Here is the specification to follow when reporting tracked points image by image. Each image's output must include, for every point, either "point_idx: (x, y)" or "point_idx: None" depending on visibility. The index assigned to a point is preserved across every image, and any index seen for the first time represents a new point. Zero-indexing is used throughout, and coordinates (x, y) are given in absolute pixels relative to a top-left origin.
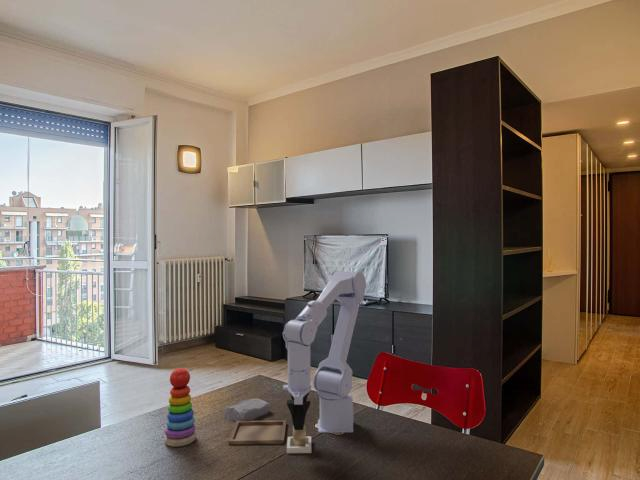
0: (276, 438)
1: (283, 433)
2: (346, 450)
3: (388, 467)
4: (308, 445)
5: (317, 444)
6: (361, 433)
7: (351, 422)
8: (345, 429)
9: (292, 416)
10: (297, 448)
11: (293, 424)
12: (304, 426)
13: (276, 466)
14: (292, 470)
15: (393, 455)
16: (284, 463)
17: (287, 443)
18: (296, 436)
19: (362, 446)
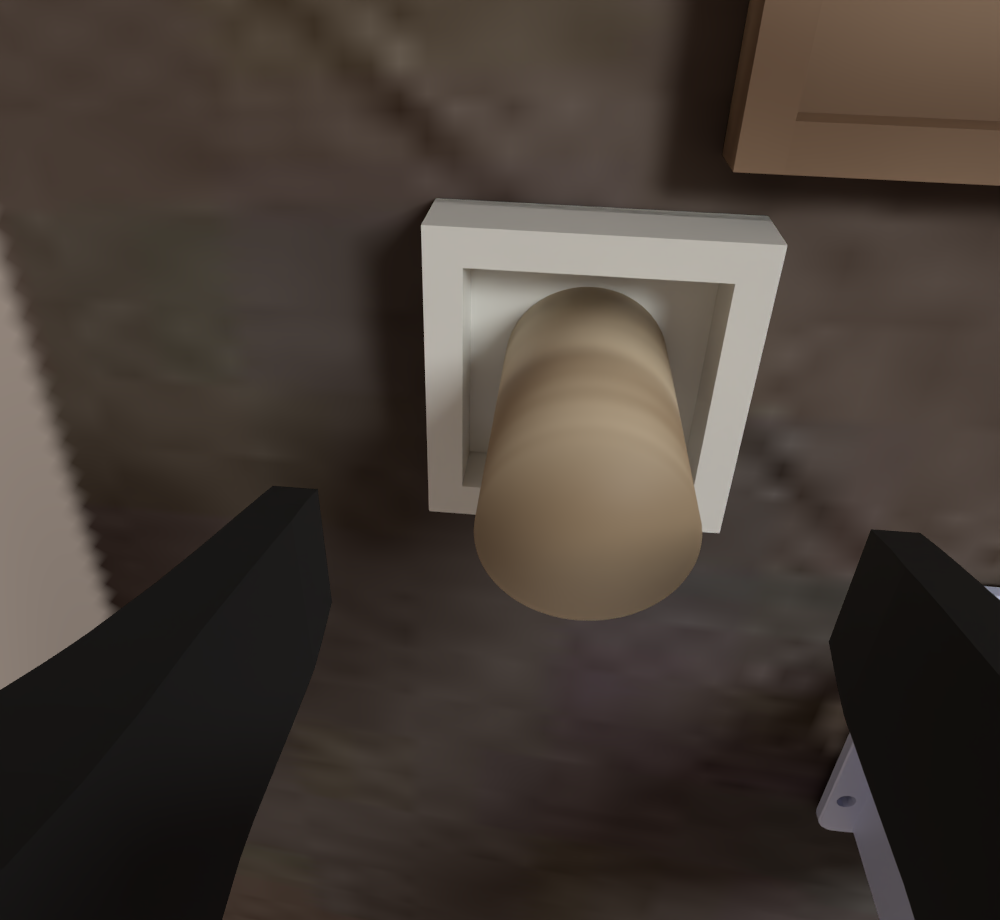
0: (927, 27)
1: (978, 164)
2: (500, 721)
3: (263, 862)
4: (478, 488)
5: None
6: (788, 848)
7: (874, 888)
8: (869, 789)
9: (47, 669)
10: (426, 361)
11: (211, 538)
12: (529, 602)
13: (124, 58)
14: (80, 262)
15: (415, 910)
16: (214, 168)
17: (556, 237)
18: (496, 415)
19: (558, 813)
